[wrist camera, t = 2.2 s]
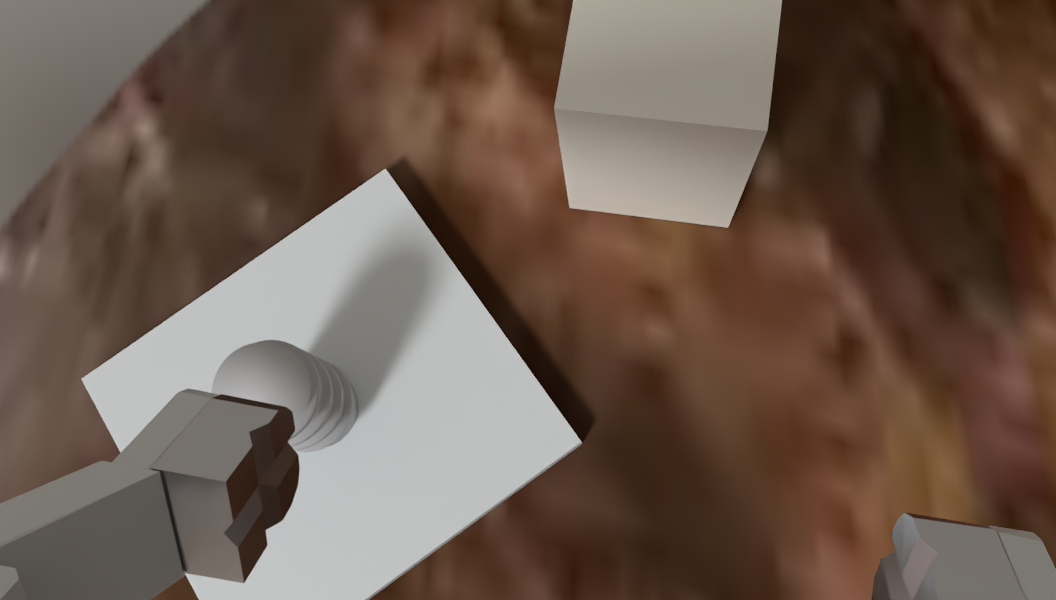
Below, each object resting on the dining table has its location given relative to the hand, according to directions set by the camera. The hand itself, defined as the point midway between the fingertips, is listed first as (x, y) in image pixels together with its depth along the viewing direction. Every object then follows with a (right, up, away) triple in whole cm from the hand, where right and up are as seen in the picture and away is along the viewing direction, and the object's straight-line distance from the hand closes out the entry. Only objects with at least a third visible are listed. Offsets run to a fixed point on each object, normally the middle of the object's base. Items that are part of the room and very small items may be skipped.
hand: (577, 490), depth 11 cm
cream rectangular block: (+4, +8, +18) cm, 20 cm away
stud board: (-8, -1, +17) cm, 19 cm away
